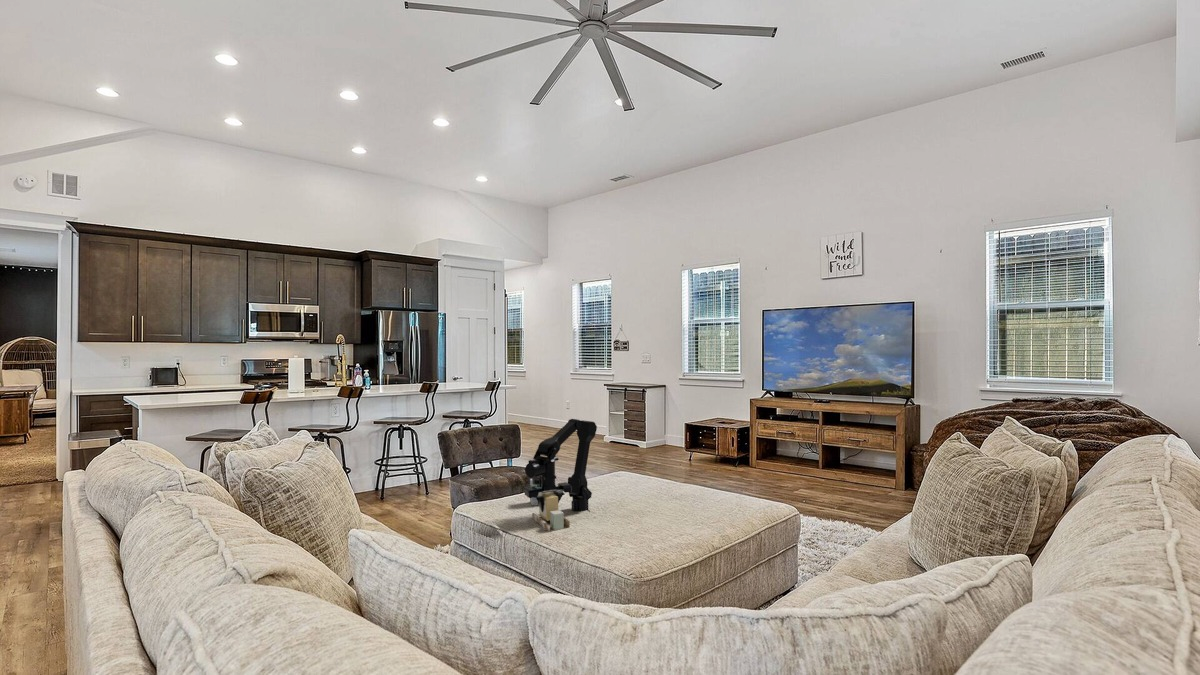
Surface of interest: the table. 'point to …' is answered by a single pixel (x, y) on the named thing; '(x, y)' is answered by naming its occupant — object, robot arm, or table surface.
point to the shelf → (548, 522)
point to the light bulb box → (534, 500)
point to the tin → (556, 519)
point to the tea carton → (549, 505)
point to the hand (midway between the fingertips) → (548, 510)
